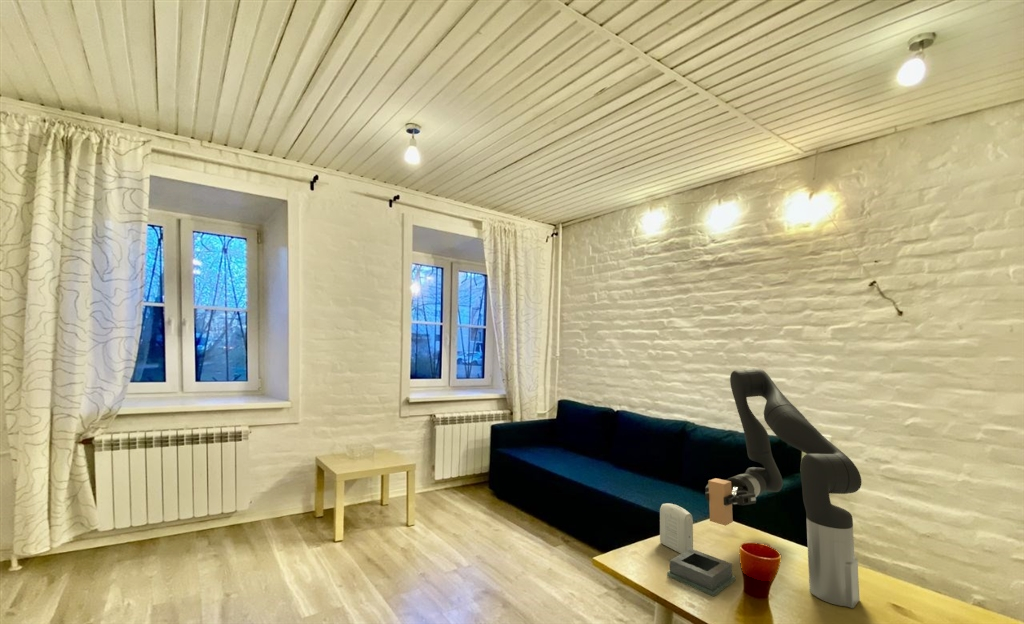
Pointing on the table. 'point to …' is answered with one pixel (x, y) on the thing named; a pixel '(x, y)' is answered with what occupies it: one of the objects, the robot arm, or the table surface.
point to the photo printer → (676, 528)
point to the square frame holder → (701, 571)
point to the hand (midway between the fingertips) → (716, 499)
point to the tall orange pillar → (720, 501)
